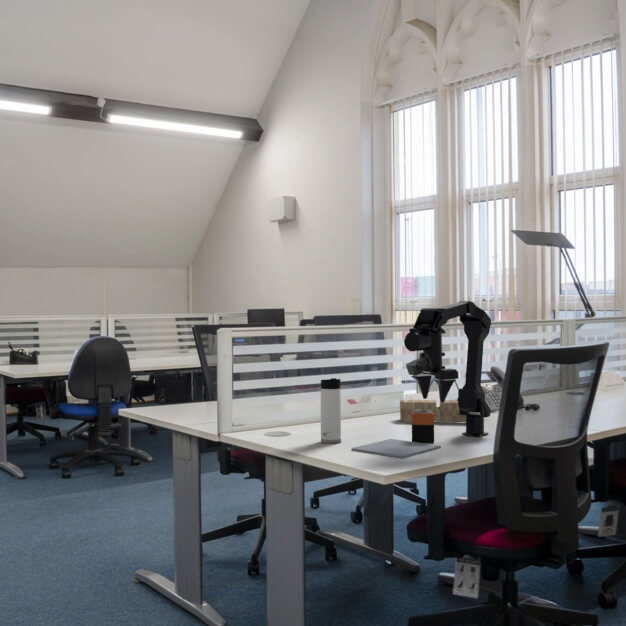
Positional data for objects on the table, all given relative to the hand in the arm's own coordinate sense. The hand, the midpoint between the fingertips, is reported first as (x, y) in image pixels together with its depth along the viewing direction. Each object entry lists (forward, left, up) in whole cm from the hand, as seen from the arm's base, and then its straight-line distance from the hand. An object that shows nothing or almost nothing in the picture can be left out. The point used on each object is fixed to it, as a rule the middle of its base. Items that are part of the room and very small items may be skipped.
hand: (433, 400), depth 223 cm
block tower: (-41, -22, -14) cm, 49 cm away
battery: (-1, -4, -14) cm, 14 cm away
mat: (+14, -4, -13) cm, 20 cm away
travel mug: (+17, -26, -14) cm, 34 cm away
